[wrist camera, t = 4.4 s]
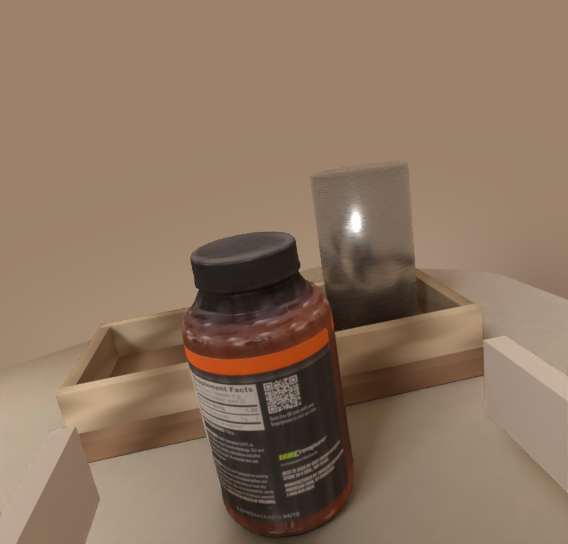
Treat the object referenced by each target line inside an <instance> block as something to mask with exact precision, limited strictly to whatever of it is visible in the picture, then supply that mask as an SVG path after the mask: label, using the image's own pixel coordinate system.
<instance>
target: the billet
mask: <svg viewBox="0 0 568 544" xmlns="http://www.w3.org/2000/svg"><path fill="white" fill-rule="evenodd" d="M310 179H311V187H312V194H313V202H314V210H315V218H316V225H317V233H318V240H319V248H320V256H321V264H322V272H323V279H324V287H325V295H326V297H327V298H328V301H329V304H330V308H331V311H332V318H333V326H334V331H335V332H337V331H342V330H347V329H352V328H357V327H362V326H367V325H372V324H377V323H382V322H386V321H391V320H396V319H401V318H406V317H411V316H416V315H418V301H417V287H416V272H415V257H414V242H413V228H412V214H411V198H410V184H409V169H408V162H382V163H373V164H364V165H356V166H350V167H343V168H338V169H332V170H328V171H323V172H319V173H316V174H313V175H311V176H310Z"/></svg>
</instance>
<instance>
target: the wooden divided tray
mask: <svg viewBox="0 0 568 544" xmlns="http://www.w3.org/2000/svg"><path fill="white" fill-rule="evenodd" d="M415 272H416V287H417V301H418V315H416V316H411V317H406V318H401V319H396V320H391V321H386V322H382V323H377V324H372V325H367V326H362V327H357V328H352V329H347V330H342V331H337V332H335V336H336V344H337V352H338V359H339V366H340V374H341V381H342V388H343V395H344V402H345V406H346V405H350V404H355V403H359V402H364V401H368V400H373V399H377V398H382V397H386V396H391V395H395V394H400V393H404V392H409V391H413V390H418V389H422V388H427V387H431V386H436V385H440V384H445V383H449V382H454V381H458V380H463V379H467V378H472V377H476V376H481V375H484V347H483V325H482V308H481V307H479V306H478V305H476V304H474V303H473V302H471V301H469V300H468V299H466V298H464V297H463V296H461V295H459V294H458V293H456V292H454V291H453V290H451V289H450V288H448V287H446V286H445V285H443V284H441V283H440V282H438V281H436V280H435V279H433V278H431V277H430V276H428V275H426V274H425V273H423V272H421V271H420V270H418V269H416V268H415ZM314 284H315V285H316V286H318V287H319V288H320V289H322V291H323V292H324V294H325V287H324V282H319V283H314ZM189 308H190V307H189ZM189 308H183V309H179V310H174V311H168V312H163V313H157V314H152V315H147V316H142V317H137V318H132V319H126V320H121V321H116V322H111V323H105V324H101V326H100V327H99V329H98V330H97V332H96V334H95V335H94V337H93V338H92V340H91V341H90V343H89V344H88V346H87V348H86V349H85V351H84V352H83V354H82V355H81V357H80V359H79V360H78V362H77V363H76V365H75V366H74V368H73V370H72V371H71V373H70V374H69V376H68V377H67V379H66V381H65V382H64V384H63V385H62V387H61V388H60V390H59V392H58V393H57V395H56V398H57V401H58V404H59V407H60V410H61V413H62V416H63V419H64V421H65V424H66V427H71V426H76V428H77V431H78V434H79V437H80V440H81V443H82V446H83V449H84V452H85V455H86V458H87V461H88V462H93V461H97V460H102V459H106V458H111V457H116V456H120V455H125V454H129V453H134V452H138V451H143V450H147V449H152V448H156V447H161V446H165V445H170V444H174V443H179V442H183V441H188V440H192V439H197V438H201V437H206V432H205V428H204V424H203V420H202V416H201V412H200V408H199V404H198V400H197V396H196V392H195V388H194V384H193V380H192V376H191V372H190V368H189V365H188V359H187V356H186V352H185V347H184V343H183V337H182V322H183V320H184V316H185V315H186V313H187V311H188V309H189Z"/></svg>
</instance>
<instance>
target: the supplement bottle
mask: <svg viewBox="0 0 568 544" xmlns="http://www.w3.org/2000/svg"><path fill="white" fill-rule="evenodd" d="M190 260H191V265H192V270H193V274H194V279H195V286H196V288H198V289H199V291H198V294H197V296H196V299H195V301H194V303H193V305H192V306H191V307H190V308H189V309H188V311H187V313H186V315H185V316H184V320H183V322H182V337H183V343H184V347H185V352H186V356H187V359H188V365H189V368H190V372H191V376H192V380H193V384H194V388H195V392H196V396H197V400H198V404H199V408H200V412H201V416H202V420H203V424H204V428H205V432H206V436H207V440H208V444H209V448H210V452H211V456H212V460H213V464H214V468H215V472H216V476H217V480H218V485H219V488H220V491H221V494H222V498H223V501H224V504H225V506H226V509H227V511H228V512H229V514H230V516H231V517H232V518H233V519H234V520H235V521H236V522H237V523H239V524H240V525H242V526H243V527H244V528H246V529H248V530H250V531H251V532H255V533H259V534H261V535H267V536H271V537H280V536H290V535H297V534H300V533H304V532H307V531H309V530H312V529H314V528H316V527H318V526H320V525H321V524H323V523H325V522H326V521H328V520H330V519H331V518H332V517H334V516H335V514H336V513H337V512H339V510H340V509H341V508H342V506H343V505H344V503H345V502H346V500H347V498H348V496H349V494H350V491H351V489H352V484H353V478H354V470H353V458H352V452H351V444H350V438H349V431H348V424H347V416H346V409H345V402H344V395H343V388H342V381H341V374H340V366H339V359H338V352H337V344H336V336H335V331H334V326H333V318H332V311H331V308H330V304H329V301H328V298H327V297H326V295H325V294H324V292H323V291H322V289H320V288H319V287H318V286H316V285H315V284H313V283H312V282H310V281H306V280H305V279H304V278H303V277H302V276H301V274H300V273H299V271H298V270H299V268H300V262H299V260H298V254H297V247H296V241H295V238H294V237H293V236H292V235H290V234H289V233H284V232H255V233H247V234H241V235H236V236H232V237H227V238H223V239H219V240H216V241H214V242H211V243H208V244H206V245H204V246H201V247H200V248H198V249H197V250H195V251H194V252H193V253H192V254H191V258H190Z"/></svg>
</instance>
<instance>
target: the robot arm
mask: <svg viewBox="0 0 568 544" xmlns="http://www.w3.org/2000/svg"><path fill="white" fill-rule="evenodd" d="M483 344H484V388H485V412H486V413H487V414H488V415H489V416H490V417H491V418H492V419H493V420H494V421H495V422H496V423H497V424H498V425H499V426H500V427H501V428H502V429H503V430H504V431H505V432H506V433H507V434H508V435H509V436H510V437H511V438H512V439H513V440H514V441H515V442H516V443H517V444H518V445H519V446H520V447H521V448H522V449H523V450H524V451H525V452H526V453H527V454H528V455H529V456H530V457H531V458H532V459H533V460H534V461H535V462H536V463H537V464H538V465H539V466H540V467H541V468H542V469H543V470H544V471H545V472H546V473H547V474H548V475H549V476H551V477H552V478H553V479H554V480H555V481H556V482H557V483H558V484H559V485H560V486H561V487H562V488H563V489H564V490H565V491H566V492H567V493H568V376H566V375H565V374H563V373H562V372H560V371H559V370H557V369H555V368H554V367H552V366H551V365H549V364H548V363H546V362H545V361H543V360H542V359H540V358H539V357H537V356H536V355H534V354H533V353H531V352H530V351H528V350H527V349H525V348H523V347H522V346H520V345H519V344H517V343H516V342H514V341H513V340H511V339H510V338H508V337H507V336H500V337H495V338H490V339H486V340H483ZM99 500H100V497H99V494H98V491H97V488H96V485H95V482H94V479H93V476H92V473H91V470H90V467H89V464H88V461H87V458H86V455H85V452H84V449H83V446H82V443H81V440H80V437H79V434H78V431H77V428H76V426H71V427H66V428H62V429H57V430H52V431H49V433H48V434H47V436H46V438H45V440H44V441H43V443H42V445H41V446H40V448H39V450H38V452H37V453H36V455H35V457H34V458H33V460H32V462H31V463H30V465H29V467H28V469H27V470H26V472H25V474H24V475H23V477H22V479H21V480H20V482H19V484H18V486H17V487H16V489H15V491H14V492H13V494H12V496H11V497H10V499H9V501H8V503H7V504H6V506H5V508H4V509H3V511H2V513H1V514H0V544H85V543H86V540H87V536H88V533H89V530H90V527H91V524H92V521H93V518H94V515H95V512H96V509H97V506H98V503H99Z"/></svg>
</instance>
